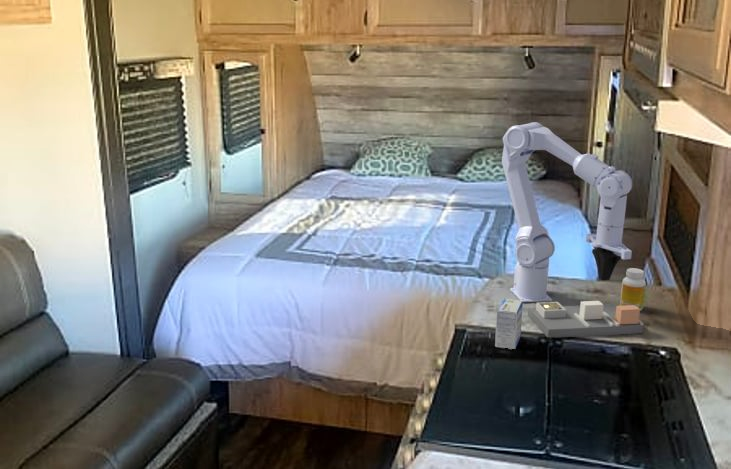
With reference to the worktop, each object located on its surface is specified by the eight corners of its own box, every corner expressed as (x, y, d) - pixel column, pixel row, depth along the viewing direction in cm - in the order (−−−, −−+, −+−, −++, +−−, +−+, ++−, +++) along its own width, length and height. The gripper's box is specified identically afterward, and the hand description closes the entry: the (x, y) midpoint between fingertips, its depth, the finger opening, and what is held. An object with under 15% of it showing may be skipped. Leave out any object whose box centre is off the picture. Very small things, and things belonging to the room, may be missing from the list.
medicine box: (515, 350, 158) (517, 313, 156) (494, 347, 160) (496, 310, 157) (520, 336, 166) (523, 300, 163) (500, 333, 167) (503, 297, 165)
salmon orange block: (614, 320, 169) (616, 305, 169) (632, 319, 170) (634, 305, 169) (619, 324, 167) (621, 310, 166) (638, 323, 168) (640, 309, 167)
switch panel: (527, 315, 177) (528, 300, 176) (615, 311, 180) (617, 296, 179) (547, 337, 165) (549, 322, 164) (642, 333, 168) (644, 317, 167)
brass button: (540, 308, 175) (541, 302, 174) (555, 308, 175) (555, 302, 175) (546, 314, 171) (546, 308, 171) (561, 313, 172) (561, 307, 171)
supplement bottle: (644, 312, 180) (648, 275, 177) (621, 310, 181) (625, 273, 178) (640, 304, 185) (645, 267, 182) (618, 303, 186) (622, 266, 183)
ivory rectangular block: (579, 315, 172) (580, 301, 171) (597, 314, 173) (598, 300, 172) (583, 319, 170) (585, 305, 169) (602, 318, 170) (603, 304, 169)
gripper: (577, 217, 177) (572, 271, 180) (615, 233, 163) (608, 291, 167) (602, 215, 179) (596, 268, 183) (642, 231, 166) (634, 288, 169)
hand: (604, 279), depth 175 cm, fingers closed
